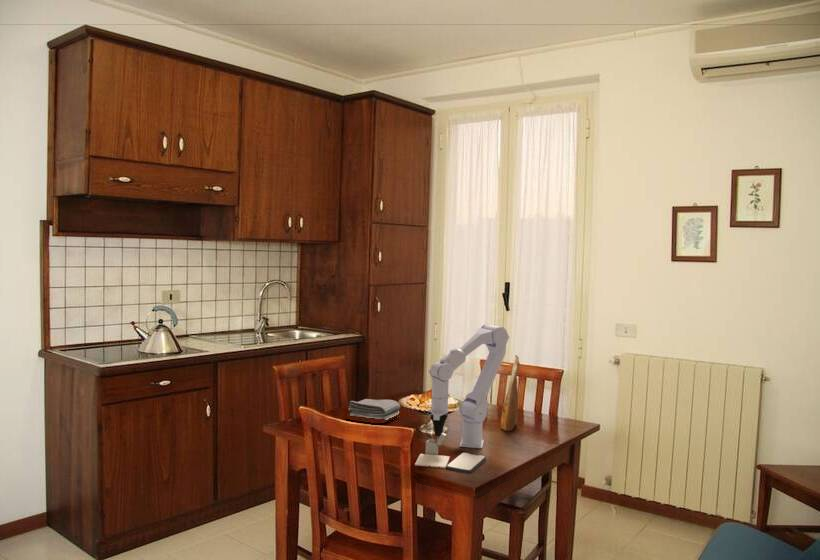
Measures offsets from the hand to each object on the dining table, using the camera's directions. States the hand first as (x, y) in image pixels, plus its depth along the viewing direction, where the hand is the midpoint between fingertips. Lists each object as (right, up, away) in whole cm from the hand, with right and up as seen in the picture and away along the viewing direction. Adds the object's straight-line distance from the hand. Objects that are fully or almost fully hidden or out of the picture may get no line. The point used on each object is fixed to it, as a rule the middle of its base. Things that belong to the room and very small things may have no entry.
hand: (438, 435), depth 222 cm
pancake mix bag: (+30, -5, +34) cm, 46 cm away
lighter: (-1, -5, -6) cm, 8 cm away
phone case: (+8, -6, -14) cm, 18 cm away
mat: (-2, -5, -13) cm, 14 cm away
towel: (-25, -3, +40) cm, 47 cm away
